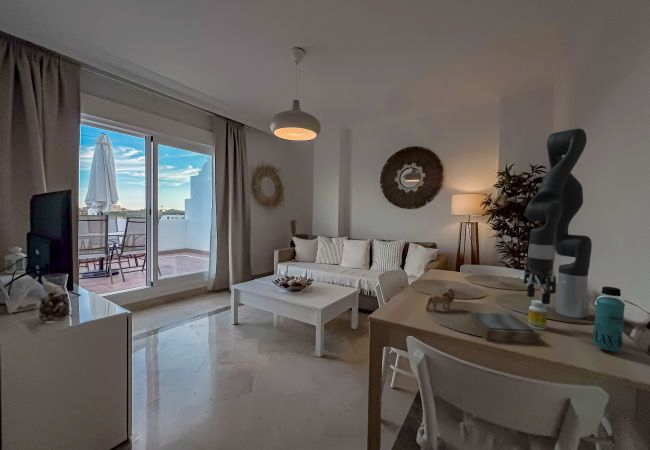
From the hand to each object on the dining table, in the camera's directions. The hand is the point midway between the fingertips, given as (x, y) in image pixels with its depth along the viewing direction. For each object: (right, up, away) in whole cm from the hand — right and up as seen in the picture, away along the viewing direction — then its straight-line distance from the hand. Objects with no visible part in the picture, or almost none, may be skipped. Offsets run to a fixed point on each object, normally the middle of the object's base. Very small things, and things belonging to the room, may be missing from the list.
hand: (537, 300), depth 105 cm
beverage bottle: (+8, -11, -17) cm, 22 cm away
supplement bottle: (0, -10, +1) cm, 10 cm away
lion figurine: (-29, -9, +19) cm, 35 cm away
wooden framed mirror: (-16, -10, -4) cm, 20 cm away
